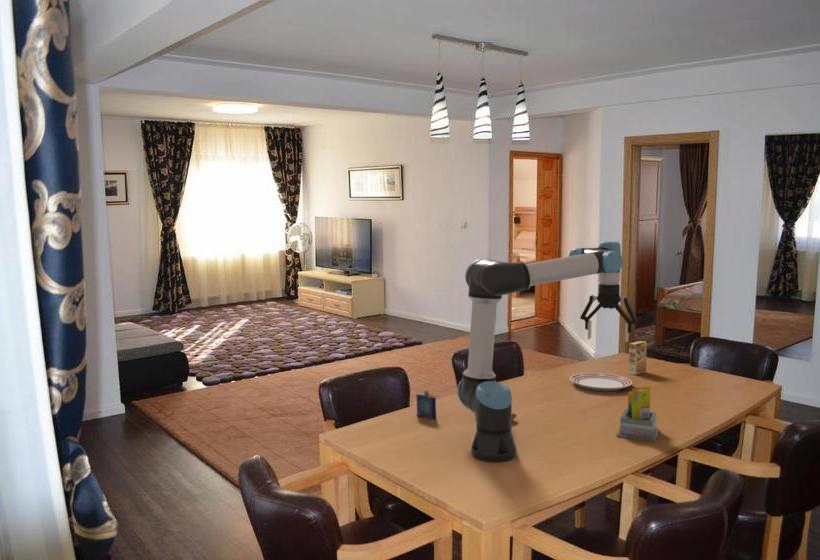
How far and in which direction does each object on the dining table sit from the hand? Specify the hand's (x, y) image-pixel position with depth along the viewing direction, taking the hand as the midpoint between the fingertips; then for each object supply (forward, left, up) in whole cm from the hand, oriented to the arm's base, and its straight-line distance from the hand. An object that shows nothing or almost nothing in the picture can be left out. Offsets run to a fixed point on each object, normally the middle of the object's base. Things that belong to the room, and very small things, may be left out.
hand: (607, 339), depth 241 cm
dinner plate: (+51, +12, -33) cm, 62 cm away
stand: (-6, -12, -32) cm, 35 cm away
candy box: (+81, 0, -33) cm, 88 cm away
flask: (-21, +66, -33) cm, 76 cm away
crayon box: (-6, -12, -27) cm, 30 cm away
